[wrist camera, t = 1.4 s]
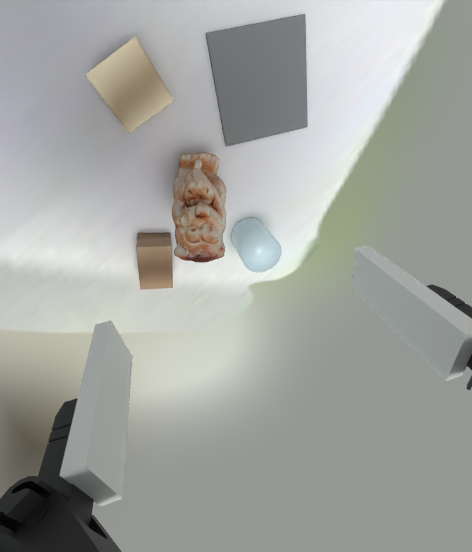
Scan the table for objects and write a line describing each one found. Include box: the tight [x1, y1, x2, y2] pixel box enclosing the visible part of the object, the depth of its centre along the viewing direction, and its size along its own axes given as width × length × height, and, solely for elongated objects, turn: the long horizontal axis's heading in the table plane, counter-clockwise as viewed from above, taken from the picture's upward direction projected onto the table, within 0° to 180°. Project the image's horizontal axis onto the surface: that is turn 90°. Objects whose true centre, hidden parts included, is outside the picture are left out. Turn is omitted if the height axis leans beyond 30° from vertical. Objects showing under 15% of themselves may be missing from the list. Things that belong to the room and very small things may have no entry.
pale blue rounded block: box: [231, 218, 281, 272], centre depth 37 cm, size 5×5×6 cm
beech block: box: [85, 37, 174, 133], centre depth 26 cm, size 5×5×5 cm
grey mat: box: [206, 14, 307, 146], centre depth 30 cm, size 10×10×1 cm
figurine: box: [172, 153, 226, 262], centre depth 28 cm, size 6×8×15 cm
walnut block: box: [136, 233, 173, 290], centre depth 36 cm, size 6×4×4 cm, turn 174°
